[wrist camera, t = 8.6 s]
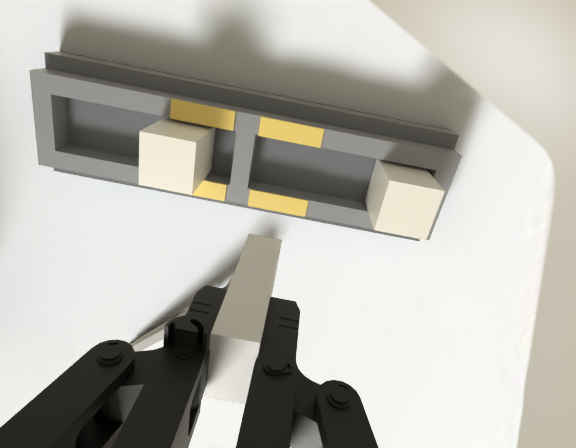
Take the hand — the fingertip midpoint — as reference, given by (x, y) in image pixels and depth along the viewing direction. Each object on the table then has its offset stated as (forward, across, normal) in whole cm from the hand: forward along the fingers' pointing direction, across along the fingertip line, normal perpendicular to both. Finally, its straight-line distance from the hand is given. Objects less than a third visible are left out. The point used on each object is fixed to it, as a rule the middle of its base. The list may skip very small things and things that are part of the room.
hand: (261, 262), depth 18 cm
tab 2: (+18, -9, +1) cm, 20 cm away
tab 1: (+17, +9, 0) cm, 19 cm away
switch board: (+19, +4, 0) cm, 20 cm away
